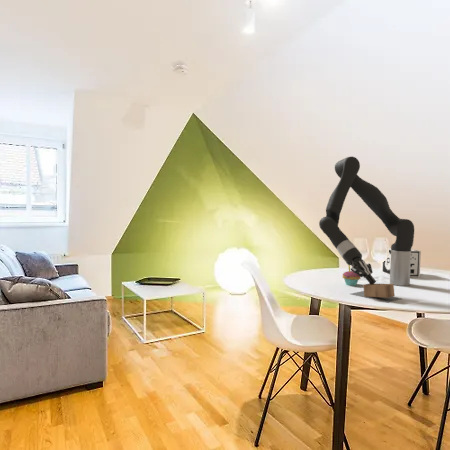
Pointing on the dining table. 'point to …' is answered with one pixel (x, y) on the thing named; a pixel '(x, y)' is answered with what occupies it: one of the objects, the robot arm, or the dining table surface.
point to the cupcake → (351, 277)
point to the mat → (377, 297)
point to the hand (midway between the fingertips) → (373, 283)
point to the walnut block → (379, 290)
